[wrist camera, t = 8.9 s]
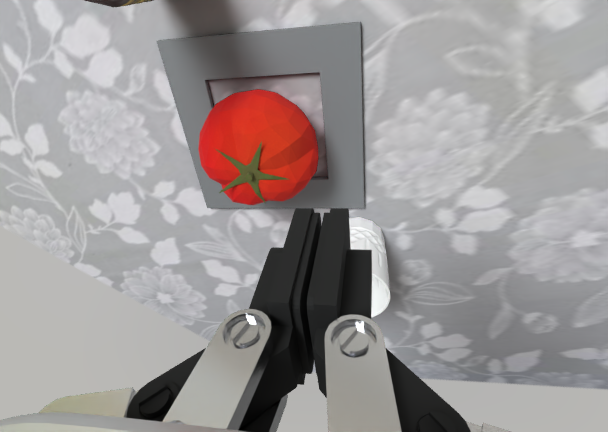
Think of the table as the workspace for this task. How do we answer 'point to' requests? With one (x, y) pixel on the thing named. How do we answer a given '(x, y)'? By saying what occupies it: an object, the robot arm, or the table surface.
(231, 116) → the tomato
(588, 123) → the table surface
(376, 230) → the white cup
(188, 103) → the gray picture frame
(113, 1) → the sauce bottle
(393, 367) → the robot arm
